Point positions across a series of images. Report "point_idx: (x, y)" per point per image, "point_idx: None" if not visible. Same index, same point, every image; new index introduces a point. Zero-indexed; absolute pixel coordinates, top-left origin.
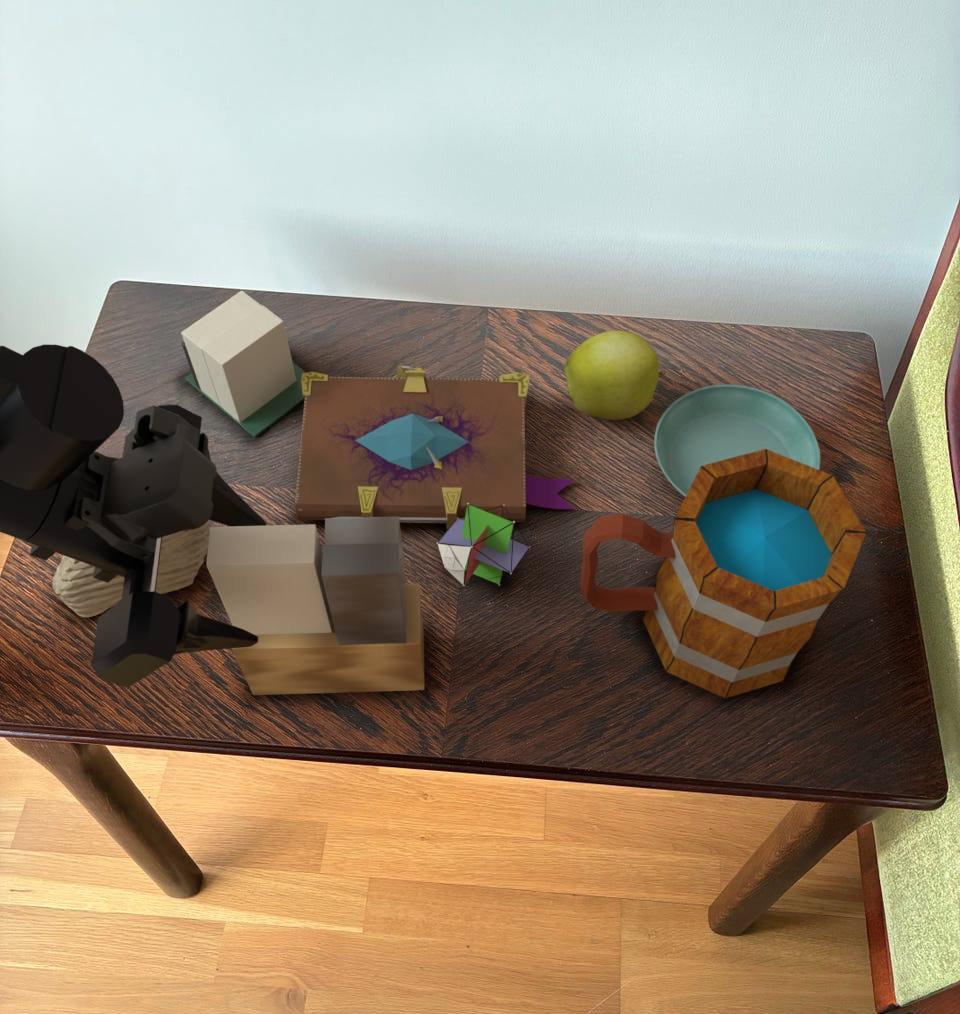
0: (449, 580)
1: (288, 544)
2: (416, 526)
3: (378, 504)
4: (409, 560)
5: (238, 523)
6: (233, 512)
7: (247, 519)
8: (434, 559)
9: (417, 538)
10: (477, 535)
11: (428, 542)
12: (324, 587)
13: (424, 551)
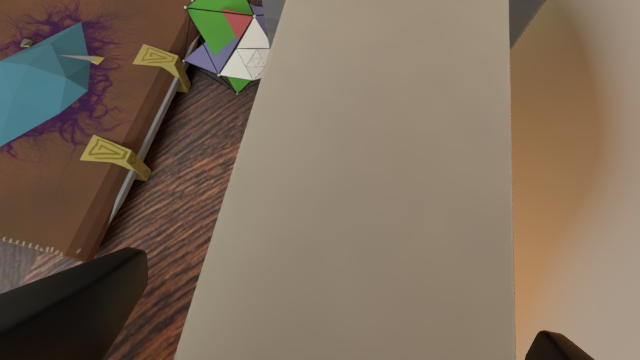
0: (252, 103)
1: (397, 46)
2: (166, 122)
3: (122, 139)
4: (210, 139)
5: (95, 339)
6: (41, 349)
7: (97, 298)
8: (219, 113)
9: (183, 125)
10: (223, 33)
11: (193, 114)
12: (513, 41)
13: (204, 121)
